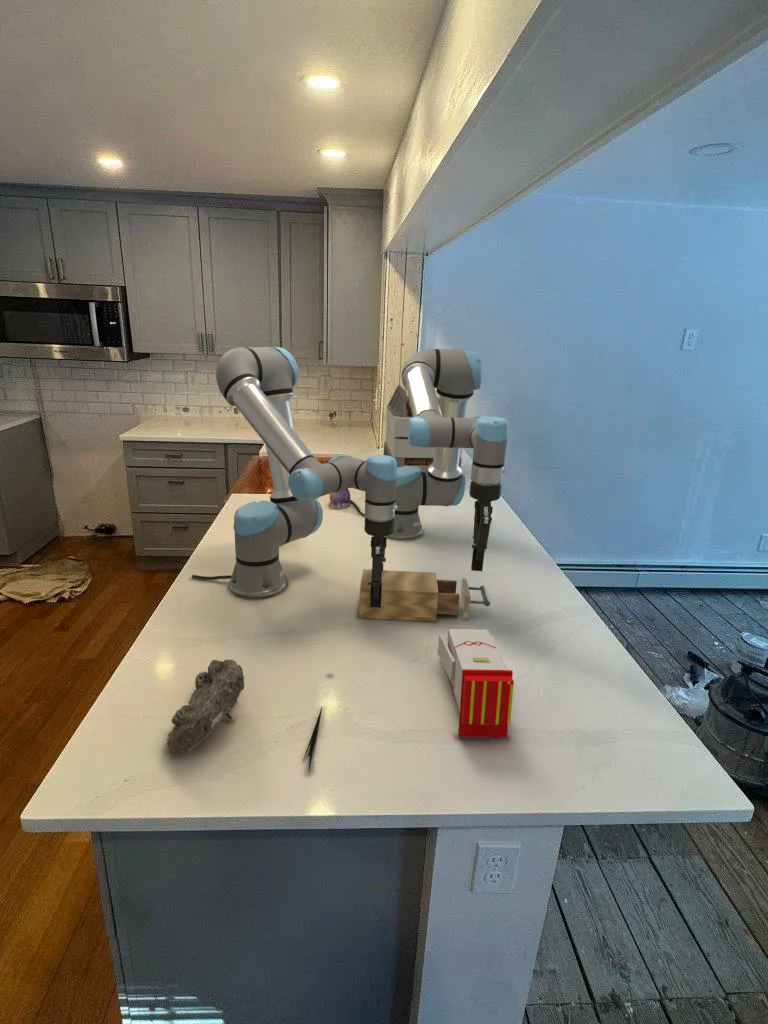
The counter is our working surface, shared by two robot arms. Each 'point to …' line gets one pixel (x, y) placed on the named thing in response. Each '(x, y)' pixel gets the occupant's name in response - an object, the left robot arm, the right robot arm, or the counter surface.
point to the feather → (313, 740)
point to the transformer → (404, 433)
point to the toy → (478, 682)
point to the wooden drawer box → (401, 596)
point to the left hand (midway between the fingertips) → (376, 595)
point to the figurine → (340, 499)
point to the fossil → (206, 705)
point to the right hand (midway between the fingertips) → (476, 569)
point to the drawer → (457, 597)
